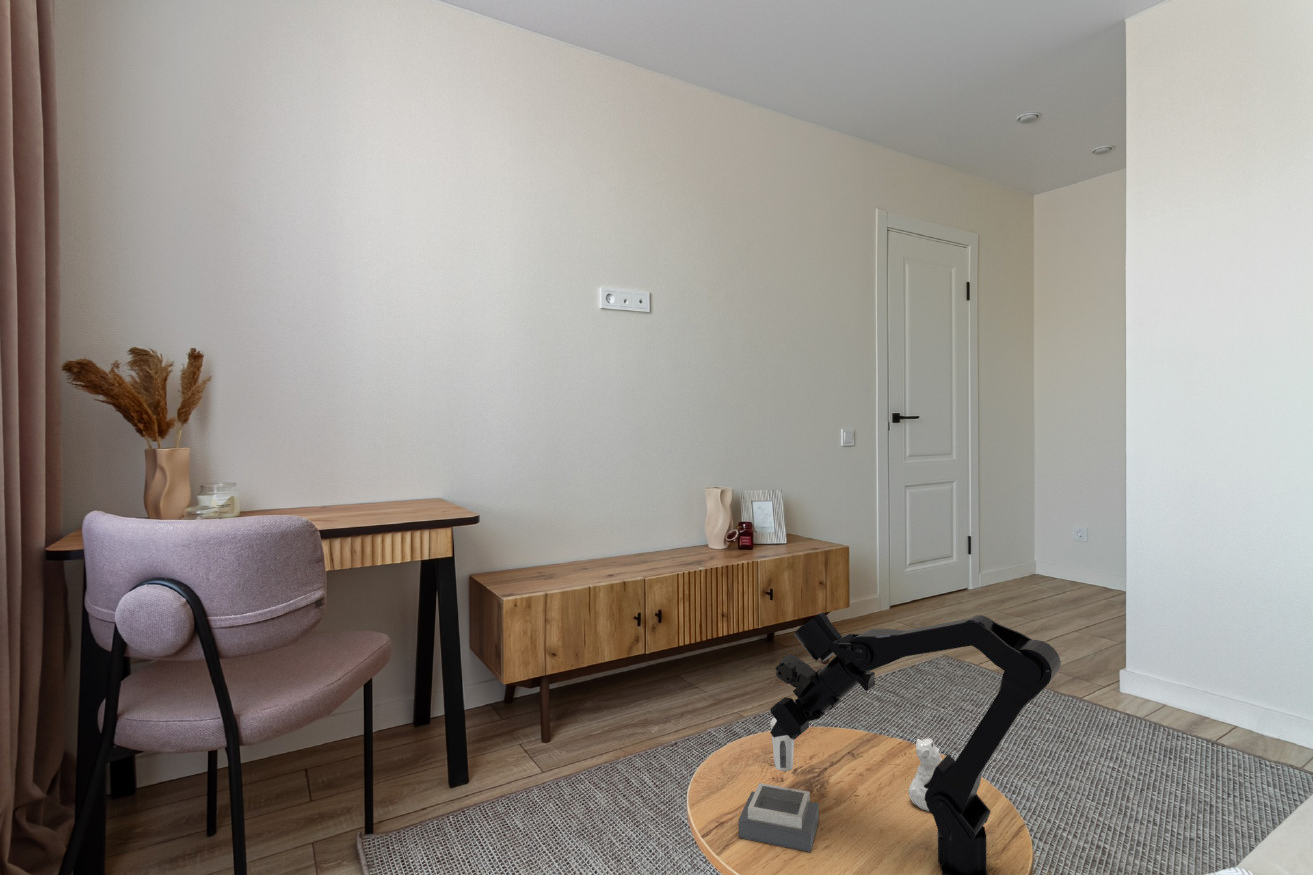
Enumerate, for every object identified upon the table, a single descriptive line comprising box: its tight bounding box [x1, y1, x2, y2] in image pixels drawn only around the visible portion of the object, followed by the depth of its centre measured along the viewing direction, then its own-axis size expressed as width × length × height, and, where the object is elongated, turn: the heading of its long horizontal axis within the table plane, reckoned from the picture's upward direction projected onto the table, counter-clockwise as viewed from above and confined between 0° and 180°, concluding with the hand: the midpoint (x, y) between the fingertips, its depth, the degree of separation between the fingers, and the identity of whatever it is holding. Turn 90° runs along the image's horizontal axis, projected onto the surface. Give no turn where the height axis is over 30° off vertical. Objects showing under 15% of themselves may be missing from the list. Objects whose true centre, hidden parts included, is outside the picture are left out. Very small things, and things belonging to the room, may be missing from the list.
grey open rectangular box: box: [738, 782, 820, 853], centre depth 119 cm, size 12×10×5 cm
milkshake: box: [769, 717, 795, 772], centre depth 127 cm, size 4×5×10 cm
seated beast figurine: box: [908, 737, 943, 812], centre depth 126 cm, size 10×9×12 cm
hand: (778, 730), depth 128 cm, fingers closed on milkshake, 4 cm apart
